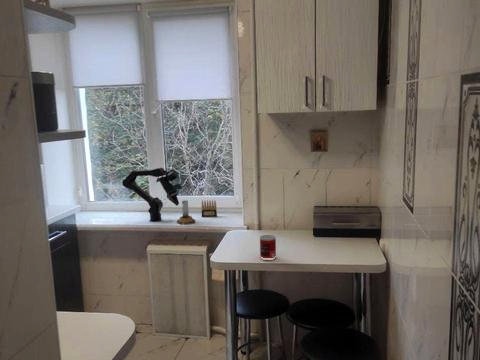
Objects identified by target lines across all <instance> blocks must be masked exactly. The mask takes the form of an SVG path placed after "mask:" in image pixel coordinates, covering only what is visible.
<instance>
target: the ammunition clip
mask: <svg viewBox="0 0 480 360" xmlns="http://www.w3.org/2000/svg"><path fill="white" fill-rule="evenodd" d="M217 211H218V210H217V201H216V200H213V199H211V200H208V199H207V200H202V199H201V218H216V217H218V212H217Z"/></svg>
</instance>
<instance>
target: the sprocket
mask: <svg viewBox="0 0 480 360" xmlns="http://www.w3.org/2000/svg"><path fill="white" fill-rule="evenodd" d="M176 223H177V224H178V225H183V226H184V225H193V224H195V223H196V219H195V218H193V216H192V215H189V218H183V215H182V216H180V217H179V219H177V220H176Z"/></svg>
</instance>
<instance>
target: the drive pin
mask: <svg viewBox="0 0 480 360" xmlns="http://www.w3.org/2000/svg"><path fill="white" fill-rule="evenodd" d="M181 210H182V211H181V212H182V216H183V218H189V216H190V213H189V200H181Z"/></svg>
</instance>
